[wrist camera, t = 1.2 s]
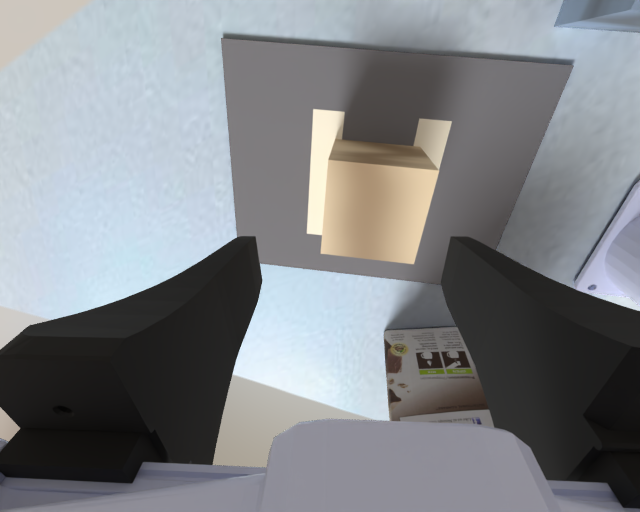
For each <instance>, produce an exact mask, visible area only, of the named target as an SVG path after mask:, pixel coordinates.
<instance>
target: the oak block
mask: <svg viewBox="0 0 640 512" xmlns="http://www.w3.org/2000/svg"><path fill="white" fill-rule="evenodd" d="M438 174H439V170H438V168H437V167H436V166H435V165H434V163H433V162H432V161H431V160H430V158H429V157H428V156H427V155H426V153H425V152H424V151H423V150H422V148H421V147H417V146H406V145H395V144H385V143H374V142H363V141H353V140H342V139H335V141H334V144H333V147H332V150H331V153H330V156H329V159H328V169H327V181H326V193H325V205H324V218H323V230H322V242H321V254H329V255H337V256H346V257H355V258H363V259H372V260H381V261H390V262H398V263H407V264H414V262H415V258H416V255H417V251H418V247H419V244H420V240H421V236H422V233H423V229H424V225H425V222H426V218H427V214H428V211H429V207H430V203H431V200H432V196H433V192H434V189H435V185H436V181H437V178H438Z"/></svg>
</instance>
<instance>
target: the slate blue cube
mask: <svg viewBox="0 0 640 512" xmlns="http://www.w3.org/2000/svg"><path fill="white" fill-rule="evenodd" d="M554 27H567V28H581V29H595V30H609V31H624V32H638V33H640V0H564V1H563V4H562V6H561V9H560V12H559V14H558V17H557V20H556V22H555V25H554Z"/></svg>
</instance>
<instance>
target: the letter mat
mask: <svg viewBox="0 0 640 512" xmlns="http://www.w3.org/2000/svg"><path fill="white" fill-rule="evenodd" d="M221 43H222V56H223V68H224V80H225V93H226V105H227V118H228V130H229V142H230V155H231V167H232V180H233V192H234V204H235V217H236V229H237V237H239V236H256V243H257V249H258V256H259V262H260V263H261V264H269V265H278V266H286V267H295V268H303V269H312V270H320V271H329V272H337V273H346V274H354V275H363V276H371V277H380V278H388V279H397V280H406V281H414V282H423V283H431V284H440V285H441V278H442V274H443V269H444V265H445V260H446V255H447V251H448V246H449V242H450V237H451V236H468V237H471V238H473V239H475V240H477V241H479V242H481V243H483V244H485V245H487V246H489V247H490V248H492V249H494V250H496V248H497V245H498V243H499V240H500V238H501V236H502V233H503V231H504V229H505V226H506V224H507V222H508V219H509V217H510V215H511V212H512V210H513V208H514V205H515V203H516V200H517V198H518V196H519V193H520V191H521V189H522V186H523V184H524V182H525V179H526V177H527V175H528V172H529V170H530V168H531V165H532V163H533V160H534V158H535V156H536V153H537V151H538V149H539V146H540V144H541V142H542V139H543V137H544V135H545V132H546V130H547V127H548V125H549V123H550V120H551V118H552V116H553V113H554V111H555V109H556V106H557V104H558V102H559V99H560V97H561V95H562V92H563V90H564V87H565V85H566V83H567V80H568V78H569V76H570V73H571V71H572V69H573V65H561V64H548V63H535V62H522V61H509V60H496V59H483V58H470V57H457V56H444V55H431V54H418V53H405V52H393V51H380V50H367V49H354V48H341V47H328V46H315V45H302V44H289V43H276V42H263V41H250V40H237V39H225V38H221ZM335 139H342V140H353V141H363V142H374V143H385V144H395V145H406V146H417V147H421V148H422V150H423V151H424V152H425V153H426V155H427V156H428V157H429V158H430V160H431V161H432V162H433V163H434V165H435V166H436V167H437V168H438V170H439V174H438V178H437V181H436V185H435V189H434V192H433V196H432V200H431V203H430V207H429V211H428V214H427V218H426V222H425V225H424V229H423V233H422V236H421V240H420V244H419V247H418V251H417V255H416V258H415V262H414V264H407V263H398V262H390V261H381V260H372V259H363V258H355V257H346V256H337V255H329V254H321V242H322V230H323V218H324V205H325V193H326V181H327V169H328V159H329V156H330V153H331V150H332V147H333V144H334V141H335Z"/></svg>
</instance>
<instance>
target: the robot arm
mask: <svg viewBox="0 0 640 512" xmlns="http://www.w3.org/2000/svg"><path fill="white" fill-rule="evenodd" d="M261 284H262V275H261V269H260V262H259V256H258V249H257V243H256V236H239V237H237V238H235V239H234V240H232V241H230V242H229V243H227V244H226V245H224V246H223V247H221V248H220V249H218V250H217V251H215V252H214V253H212V254H211V255H209V256H208V257H206V258H205V259H203V260H202V261H200V262H198V263H197V264H195V265H193V266H192V267H190V268H188V269H187V270H185V271H183V272H181V273H180V274H178V275H176V276H174V277H172V278H170V279H168V280H166V281H164V282H162V283H160V284H158V285H156V286H153V287H151V288H149V289H146V290H144V291H141V292H139V293H136V294H134V295H131V296H129V297H127V298H124V299H121V300H119V301H116V302H113V303H110V304H107V305H104V306H101V307H98V308H94V309H91V310H88V311H84V312H81V313H78V314H74V315H70V316H66V317H62V318H58V319H54V320H50V321H47V322H42V323H38V324H34V325H30V326H28V327H27V328H26V329H24V330H23V331H22V332H21V333H20V334H19V335H18V336H16V337H15V338H14V339H13V340H12V341H10V342H9V343H8V344H7V345H6V346H4V347H3V348H2V349H1V350H0V407H1V408H2V409H3V410H4V411H5V412H6V413H7V414H8V415H9V417H10V418H12V420H13V421H14V422H15V423H16V424H17V425H18V426H19V427H20V428H21V429H20V430H19V431H18V432H17V433H16V434H15V436H14V437H13V438H12V439H11V440H10V441H9V442H8V441H6V440H4V439H1V438H0V512H640V311H637V310H633V309H630V308H627V307H624V306H621V305H618V304H615V303H612V302H609V301H606V300H603V299H600V298H597V297H594V296H591V295H589V294H586V293H594V294H603V295H612V296H620V297H629V298H630V299H631V300H632V301H633V302H635V303H636V304H637V305H638V306H639V307H640V181H638V182H637V183H636V184H635V185H634V187H633V189H632V190H631V192H630V193H629V195H628V197H627V198H626V200H625V202H624V203H623V205H622V206H621V208H620V210H619V211H618V213H617V214H616V216H615V218H614V219H613V221H612V223H611V224H610V226H609V227H608V229H607V231H606V232H605V234H604V235H603V237H602V239H601V240H600V242H599V244H598V245H597V247H596V248H595V250H594V252H593V253H592V255H591V256H590V258H589V260H588V261H587V263H586V265H585V266H584V268H583V269H582V271H581V273H580V274H579V276H578V277H577V279H576V281H575V282H574V288H575V289H573V288H571V287H568V286H566V285H564V284H561V283H559V282H556V281H554V280H552V279H550V278H548V277H545V276H543V275H541V274H539V273H537V272H535V271H533V270H531V269H529V268H527V267H525V266H523V265H521V264H519V263H518V262H516V261H514V260H512V259H510V258H508V257H506V256H505V255H503V254H501V253H499V252H497V251H496V250H494V249H492V248H490V247H489V246H487V245H485V244H483V243H481V242H479V241H477V240H475V239H473V238H471V237H468V236H451V237H450V242H449V246H448V251H447V255H446V260H445V265H444V269H443V274H442V278H441V285H442V289H443V293H444V296H445V300H446V303H447V306H448V308H449V310H450V312H451V315H452V317H453V319H454V321H455V323H456V325H457V328H458V330H459V332H460V334H461V336H462V338H463V340H464V343H465V345H466V347H467V349H468V351H469V353H470V355H471V358H472V360H473V363H474V365H475V368H476V371H477V374H478V377H479V380H480V383H481V386H482V389H483V392H484V395H485V398H486V401H487V405H488V408H489V411H490V414H491V418H492V421H493V425H494V428H493V427H488V426H483V425H478V424H460V423H432V422H404V421H376V420H348V419H347V420H346V419H345V420H344V419H322V420H314V421H306V422H299V423H297V424H296V425H294V426H292V427H290V428H289V429H287V430H285V431H283V432H282V433H280V434H279V435H277V436H275V437H274V439H273V442H272V445H271V449H270V452H269V457H268V462H267V467H266V468H265V467H243V466H242V467H241V466H220V465H212V464H213V459H214V453H215V448H216V443H217V438H218V434H219V429H220V424H221V419H222V414H223V410H224V406H225V402H226V398H227V393H228V389H229V385H230V381H231V377H232V373H233V369H234V366H235V362H236V359H237V356H238V352H239V349H240V347H241V344H242V342H243V339H244V336H245V334H246V331H247V329H248V326H249V323H250V321H251V318H252V316H253V313H254V310H255V308H256V305H257V302H258V298H259V294H260V289H261ZM592 284H593V285H592ZM590 285H592V286H590ZM589 286H590V287H589ZM583 292H586V293H583Z"/></svg>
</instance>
